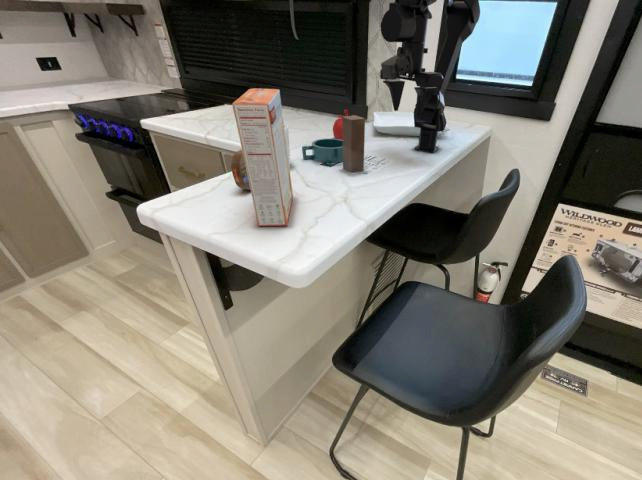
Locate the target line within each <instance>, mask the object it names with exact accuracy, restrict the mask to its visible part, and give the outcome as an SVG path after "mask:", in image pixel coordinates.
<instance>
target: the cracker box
mask: <svg viewBox="0 0 642 480" xmlns="http://www.w3.org/2000/svg"><path fill="white" fill-rule="evenodd" d="M231 105H232V111H233V114H234V117H235V123H236V128H237V133H238V137H239V141H240V146H241V149H242V152H243V156H244V161H245V166H246V171H247V175H248V180H249V185H250V189H251V190H250V193H251V198H252V203H253V209H254V212H255V217H256V222H257V226H258V227H281V226H283V227H285V226H288V223H289V219H290V214H291V209H292V205H293V199H294V193H293V185H292V177H291V176H292V175H291V168H290V166H289V160H288V153H287V145H286V137H285V129H284V125H285V121H284V115H283V107H282V105H283V104H282V99H281V91H280V89H279V88H277V89H276V88H260V87H258V88H255V87H254V88H249V89H247V91H245V92H244V93H243V94H241V96H240V97H238V98H237V99H235V101H233V102H232V103H231Z"/></svg>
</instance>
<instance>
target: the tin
mask: <svg viewBox="0 0 642 480" xmlns="http://www.w3.org/2000/svg"><path fill="white" fill-rule="evenodd" d="M230 169H231V173H232V177H233V180H234V182H235V185H236V186H237V187H238V188H239V189H240V190H247V191H248V190H249V191H251V189H250V185H249V180H248V175H247V171H246V166H245V161H244V156H243V152H242V148H241V149H239V150H237V151H236V152H234V154H233V156H232V157H231V162H230Z"/></svg>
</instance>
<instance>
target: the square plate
mask: <svg viewBox="0 0 642 480" xmlns="http://www.w3.org/2000/svg"><path fill="white" fill-rule="evenodd" d="M372 114H373V123H372V124H373V125H372V126H373V127H374V128H375V130H376V131H377V132H379V133H383V134H385V135H390V136H412V137H419V135H420V128H418V127H414V112H411V111H409V112H408V111H373V113H372ZM450 130H451V128H450V127H449V126H448V124H447V123H446V127H445V129H444V131H439V132H438V136H443V135H445V134H447V133H448V132H449V131H450Z"/></svg>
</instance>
